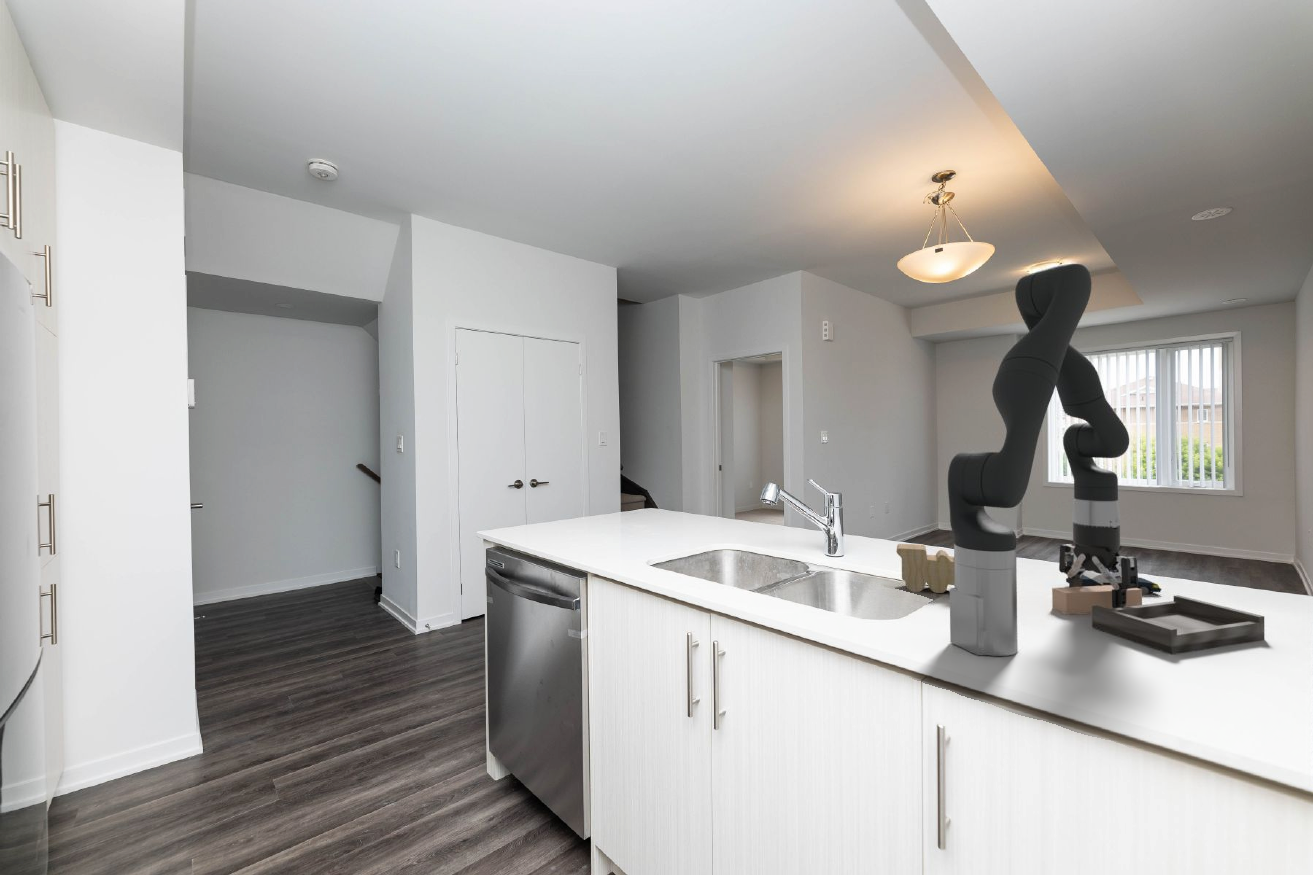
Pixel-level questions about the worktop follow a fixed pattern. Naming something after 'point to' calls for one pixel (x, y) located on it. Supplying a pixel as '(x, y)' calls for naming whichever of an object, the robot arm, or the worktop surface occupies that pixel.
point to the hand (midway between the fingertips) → (1096, 601)
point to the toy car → (1098, 580)
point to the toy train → (925, 568)
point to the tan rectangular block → (1089, 598)
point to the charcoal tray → (1180, 624)
